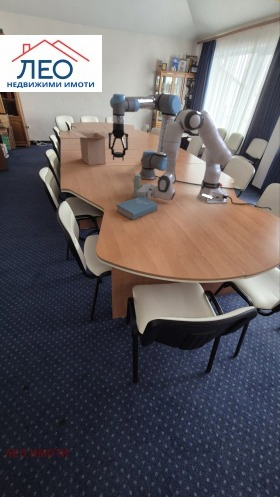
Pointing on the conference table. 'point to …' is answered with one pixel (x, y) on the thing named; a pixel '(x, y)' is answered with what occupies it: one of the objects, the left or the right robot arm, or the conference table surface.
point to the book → (136, 207)
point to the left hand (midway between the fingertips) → (118, 159)
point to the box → (92, 146)
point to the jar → (137, 183)
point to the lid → (118, 154)
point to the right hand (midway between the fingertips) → (135, 187)
